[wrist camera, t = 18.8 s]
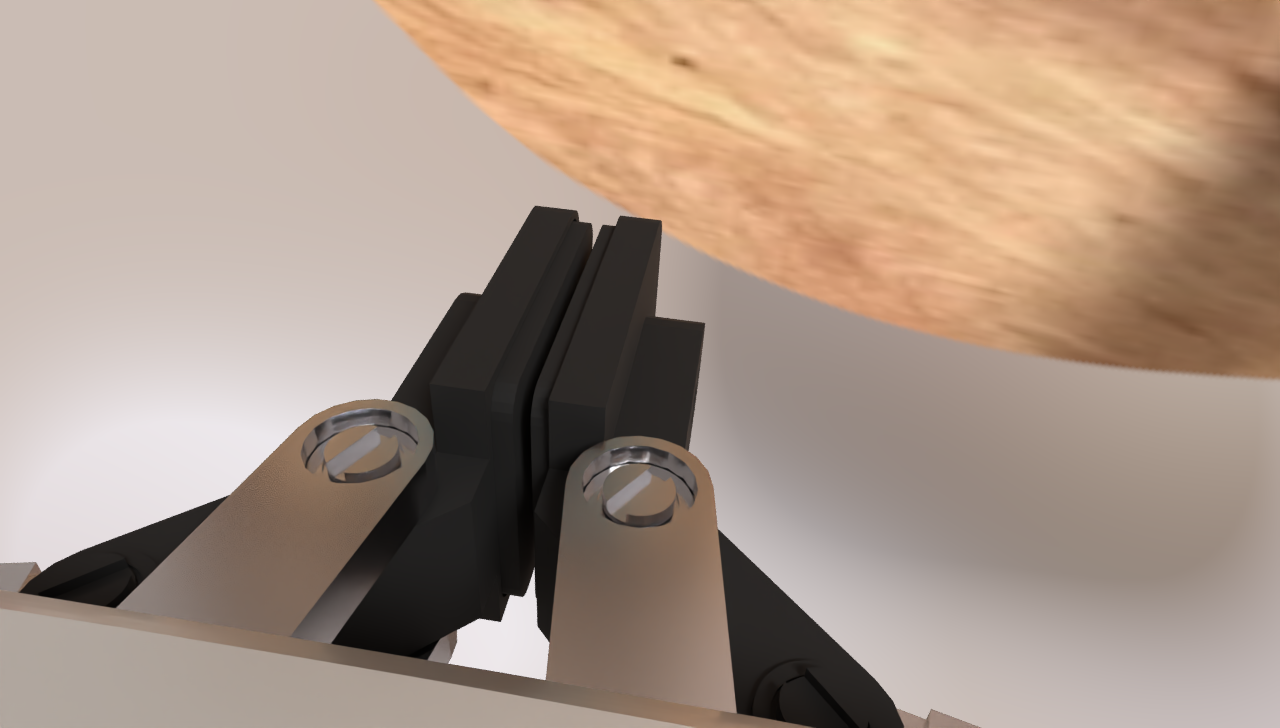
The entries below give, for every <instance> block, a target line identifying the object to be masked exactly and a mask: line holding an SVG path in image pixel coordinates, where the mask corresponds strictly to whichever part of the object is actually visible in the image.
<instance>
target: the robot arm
mask: <svg viewBox="0 0 1280 728" xmlns="http://www.w3.org/2000/svg"><path fill="white" fill-rule="evenodd" d="M592 231H593V230H592V225H591V223H584V222H579V217H578V212H577V211H575V210H567V209H558V208H550V207H541V206H535V207H534V208H533V209H532V211H531V212H530V214H529V216H528V217H527V219H526V221H525V223H524V224H523V226H522V228H521V230H520V231H519V233H518V234H517V236H516V238H515V239H514V241H513V243H512V245H511V246H510V248H509V250H508V251H507V253H506V255H505V256H504V258H503V260H502V262H501V263H500V265H499V267H498V268H497V270H496V272H495V273H494V275H493V277H492V279H491V280H490V282H489V283H488V285H487V287H486V289H485V290H484V292H483V294H482V295H481V294H473V293H461V294H460V295H459V296H458V297H457V298H456V299H455V301H454V302H453V304H452V306H451V307H450V309H449V310H448V312H447V313H446V315H445V317H444V318H443V320H442V321H441V323H440V324H439V326H438V328H437V329H436V331H435V332H434V334H433V336H432V337H431V339H430V340H429V342H428V344H427V345H426V347H425V348H424V350H423V351H422V353H421V354H420V356H419V358H418V359H417V361H416V362H415V364H414V365H413V367H412V369H411V370H410V372H409V373H408V375H407V377H406V378H405V380H404V381H403V383H402V384H401V386H400V388H399V389H398V391H397V392H396V394H395V396H394V397H393V398H392V400H391V401H388V400H380V399H372V400H356V401H352V402H348V403H344V404H340V405H336V406H333V407H331V408H329V409H326V410H325V411H322V412H320V413H318V414H316V415H314V416H312V417H311V418H310V419H309V420H307V421H306V422H305V423H303V424H302V425H301V426H300V427H298V428H297V429H296V430H295V431H294V432H293V433H292V434H291V435H290V436H289V437H288V438H287V439H286V440H285V441H284V442H283V443H282V444H281V445H280V446H279V447H278V448H277V449H276V450H275V451H274V452H273V453H272V454H271V455H270V456H269V457H268V458H267V459H266V460H265V461H264V462H263V463H262V464H261V465H260V466H259V467H258V468H257V469H256V470H255V471H254V472H253V473H252V474H251V475H250V476H249V477H248V478H247V479H246V480H245V481H244V482H243V483H242V484H241V485H240V486H239V487H238V488H237V489H236V490H235V491H234V492H232V494H231V495H229V496H226V497H223V498H221V499H218V500H216V501H213V502H210V503H207V504H205V505H202V506H199V507H197V508H194V509H192V510H189V511H186V512H184V513H181V514H178V515H175V516H173V517H170V518H167V519H165V520H162V521H159V522H157V523H154V524H151V525H149V526H146V527H143V528H141V529H138V530H135V531H133V532H130V533H127V534H125V535H122V536H119V537H117V538H114V539H111V540H109V541H106V542H103V543H101V544H98V545H95V546H93V547H90V548H87V549H84V550H82V551H80V552H78V553H76V554H73V555H71V556H69V557H67V558H65V559H63V560H61V561H58V562H56V563H54V564H53V565H51V566H50V567H48V568H47V569H46V570H44V571H43V572H41V570H40V568H39V567H38V565H37V563H36V562H32V563H31V562H29V563H1V564H0V728H980V727H978V726H975V725H972V724H970V723H967V722H964V721H962V720H959V719H956V718H954V717H951V716H948V715H946V714H943V713H940V712H938V711H935V710H932V709H931V711H930V713H929V715H928V717H927V719H923V718H920V717H918V716H915V715H912V714H910V713H907V712H905V711H902V710H899V709H896V707H895V705H894V702H893V701H892V699H891V698H890V697H889V696H888V694H887V693H886V692H885V691H884V689H883V688H882V687H881V686H880V685H879V683H878V682H877V681H876V680H875V679H874V678H873V677H872V676H871V675H870V674H869V673H868V672H867V671H866V670H865V669H864V668H863V667H862V666H861V665H860V664H859V663H857V662H856V661H855V660H854V659H853V658H852V657H851V656H850V655H849V654H848V653H847V652H846V651H845V650H844V649H843V648H842V647H841V646H840V645H839V644H838V643H837V642H835V640H833V639H832V638H831V637H830V636H829V635H828V634H827V633H826V632H825V631H824V630H823V629H822V628H821V627H820V626H819V625H818V624H816V622H815V621H814V620H813V619H811V618H810V617H809V616H808V615H807V614H806V613H805V612H804V611H803V610H802V609H801V608H800V607H799V606H798V605H797V604H796V603H794V601H793V600H792V599H791V598H790V597H788V596H787V595H786V594H785V593H784V592H783V591H782V590H781V589H780V588H779V587H778V586H777V585H776V584H775V583H774V582H773V581H772V580H771V579H770V578H769V577H768V576H767V575H765V574H764V573H763V572H762V571H761V570H760V569H759V568H758V567H757V566H756V565H755V564H754V563H753V562H752V561H751V560H750V559H749V558H748V557H747V556H746V555H744V553H742V552H741V551H740V550H739V549H738V548H737V547H736V546H735V545H734V544H733V543H732V542H731V541H730V540H729V539H728V538H727V537H726V536H725V535H724V534H723V533H722V532H721V531H719V530H718V527H717V517H716V509H715V498H714V489H713V485H712V481H711V478H710V475H709V472H708V470H707V469H706V468H705V467H704V465H703V464H702V463H701V462H700V461H699V459H698V458H697V457H696V456H694V455H693V454H691V453H690V452H688V451H689V444H690V438H691V430H692V424H693V417H694V410H695V402H696V394H697V387H698V378H699V371H700V363H701V355H702V347H703V338H704V328H705V323H701V322H693V321H684V320H677V319H669V318H661V317H655V311H656V299H657V286H658V273H659V261H660V248H661V235H662V221H661V220H653V219H644V218H636V217H627V216H620V217H619V219H618V221H617V224H616V226H609V225H603V226H602V227H601V230H600V232H599V235H598V237H597V239H596V242H595V244H594V247H593V249H592V240H593V232H592ZM534 567H535V594H536V598H537V623H538V628H539V629H540V630H541V632H542V633H543V634H544V635H545V637H546V638H547V639H548V641H549V642H550V644H549V654H548V664H547V674H546V680H540V679H535V678H529V677H523V676H517V675H511V674H505V673H500V672H494V671H488V670H482V669H476V668H470V667H464V666H459V665H452V664H448V662H449V661H450V659H451V657H452V654H453V651H454V649H455V646H456V643H457V630H458V629H460V628H462V627H464V626H466V625H467V624H469V623H471V622H473V621H475V620H477V619H479V618H480V619H486V620H493V621H498V622H501V620H502V617H503V614H504V611H505V608H506V605H507V602H508V599H509V596H510V595H514V596H521V597H523V596H524V595H525V593H526V591H527V589H528V586H529V583H530V580H531V577H532V573H533V570H534Z"/></svg>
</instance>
